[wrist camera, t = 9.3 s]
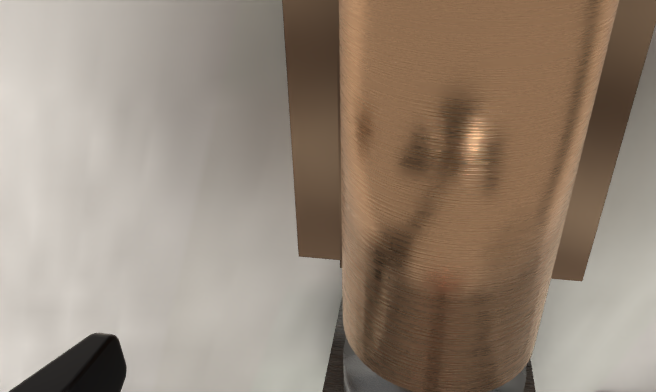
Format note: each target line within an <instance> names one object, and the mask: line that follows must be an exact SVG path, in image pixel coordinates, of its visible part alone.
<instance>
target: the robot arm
mask: <svg viewBox="0 0 656 392" xmlns="http://www.w3.org/2000/svg"><path fill="white" fill-rule="evenodd" d="M125 377H126V363H125V359H124V356H123V352H122V349H121V346H120V342H119V339H118V338H117V337H116V336H115V335H113V334H104V333H94V334H91V335H89V336H88V337H86V338H85V339H84V340H82V341H81V342H79V343H78V344H76V345H75V346H73V347H72V348H71V349H69V350H68V351H66V352H65V353H63V354H62V355H61V356H59V357H58V358H56V359H55V360H53V361H52V362H50V363H49V364H48V365H46V366H45V367H43V368H42V369H40V370H39V371H38V372H36V373H35V374H33V375H32V376H30V377H29V378H28V379H26V380H25V381H23V382H22V383H20V384H19V385H17V386H16V387H15V388H13V389H12V390H10V391H9V392H120V391H121V389H122V386H123V383H124V380H125Z"/></svg>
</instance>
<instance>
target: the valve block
mask: <svg viewBox="0 0 656 392" xmlns="http://www.w3.org/2000/svg"><path fill="white" fill-rule="evenodd" d="M323 392H414V391H410V390H407V389H405V388H402V387H400V386H397V385H395V384H393V383H391V382H389V381H387V380H385V379H383V378H382V377H380V376H379V375H378V374H376V373H375V372H373V371H372V370H371V369H370V368H368V367H367V366H366V365H365V364H364V363H363V362H362V361H361V360H360V359H359V357H358V356H357V355H356V354H355V352H354V351H353V349H352V348H351V346H350V344H349V342H348V340H347V338H346V335H345V331H344V326H343V296H342V301H341V305H340V310H339V315H338V320H337V325H336V329H335V334H334V339H333V344H332V348H331V353H330V358H329V363H328V368H327V372H326V377H325V382H324V387H323ZM488 392H535V386H534V379H533V373H532V367H531V361H530V359H529V361H528V363H527V365H526V366H525V367H524V368H523V370H522V371H521V372H520V373H519V374H518V375H517V376H516V377H514V378H513V379H512V380H510V381H509V382H507V383H506V384H504V385H502V386H500V387H498V388H496V389H493V390H491V391H488Z"/></svg>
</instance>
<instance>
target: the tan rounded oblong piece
mask: <svg viewBox="0 0 656 392" xmlns="http://www.w3.org/2000/svg"><path fill="white" fill-rule="evenodd" d="M618 3H619V0H339V55H340V134H341V213H342V292H343V326H344V331H345V335H346V338H347V340H348V342H349V344H350V346H351V348H352V349H353V351H354V352H355V354H356V355H357V356H358V357H359V359H360V360H361V361H362V362H363V363H364V364H365V365H366V366H367V367H368V368H370V369H371V370H372V371H373V372H375V373H376V374H378V375H379V376H380V377H382V378H383V379H385V380H387V381H389V382H391V383H393V384H395V385H397V386H400V387H402V388H405V389H407V390H410V391H414V392H488V391H491V390H493V389H496V388H498V387H500V386H502V385H504V384H506V383H507V382H509V381H510V380H512V379H513V378H514V377H516V376H517V375H518V374H519V373H520V372H521V371H522V370H523V368H524V367H525V366H526V365H527V363H528V361H529V359H530V357H531V355H532V352H533V349H534V345H535V341H536V337H537V333H538V329H539V325H540V321H541V317H542V313H543V309H544V305H545V301H546V296H547V292H548V288H549V284H550V280H551V276H552V272H553V268H554V264H555V260H556V256H557V252H558V248H559V244H560V239H561V235H562V231H563V227H564V223H565V219H566V215H567V211H568V207H569V203H570V199H571V195H572V191H573V186H574V182H575V178H576V174H577V170H578V166H579V162H580V158H581V154H582V150H583V146H584V142H585V138H586V134H587V129H588V125H589V121H590V117H591V113H592V109H593V105H594V101H595V97H596V93H597V89H598V85H599V81H600V77H601V72H602V68H603V64H604V60H605V56H606V52H607V48H608V44H609V40H610V36H611V32H612V28H613V24H614V19H615V15H616V11H617V7H618Z"/></svg>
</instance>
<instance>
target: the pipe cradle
mask: <svg viewBox="0 0 656 392" xmlns="http://www.w3.org/2000/svg"><path fill="white" fill-rule="evenodd" d="M282 4H283V19H284V35H285V50H286V66H287V81H288V97H289V112H290V128H291V143H292V158H293V174H294V189H295V205H296V220H297V236H298V251H299V256H300V257H312V258H323V259H334V260H340V268H342V213H341V134H340V55H339V0H282ZM655 24H656V0H619V3H618V7H617V11H616V15H615V19H614V24H613V28H612V32H611V36H610V40H609V44H608V48H607V52H606V56H605V60H604V64H603V68H602V72H601V77H600V81H599V85H598V89H597V93H596V97H595V101H594V105H593V109H592V113H591V117H590V121H589V125H588V129H587V134H586V138H585V142H584V146H583V150H582V154H581V158H580V162H579V166H578V170H577V174H576V178H575V182H574V186H573V191H572V195H571V199H570V203H569V207H568V211H567V215H566V219H565V223H564V227H563V231H562V235H561V239H560V244H559V248H558V252H557V256H556V260H555V264H554V268H553V272H552V276H551V279H562V280H574V281H582V280H583V276H584V273H585V269H586V266H587V262H588V259H589V255H590V252H591V248H592V245H593V241H594V238H595V234H596V231H597V227H598V224H599V220H600V217H601V213H602V210H603V206H604V203H605V199H606V196H607V192H608V189H609V185H610V182H611V178H612V175H613V171H614V168H615V164H616V161H617V157H618V154H619V150H620V147H621V143H622V140H623V136H624V133H625V129H626V126H627V122H628V119H629V115H630V112H631V108H632V105H633V101H634V98H635V94H636V91H637V87H638V83H639V80H640V76H641V73H642V69H643V66H644V62H645V59H646V55H647V52H648V48H649V45H650V41H651V38H652V34H653V31H654V27H655Z"/></svg>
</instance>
